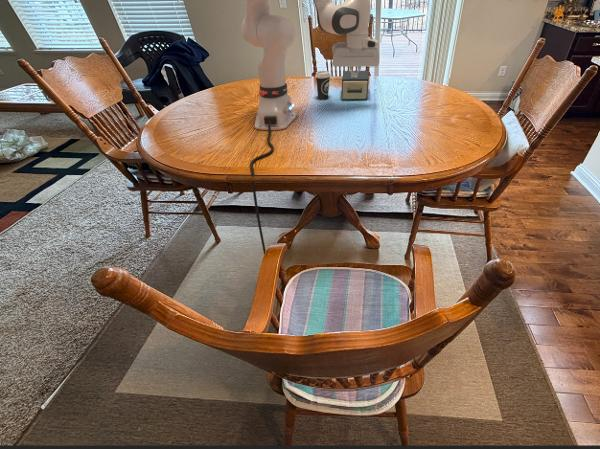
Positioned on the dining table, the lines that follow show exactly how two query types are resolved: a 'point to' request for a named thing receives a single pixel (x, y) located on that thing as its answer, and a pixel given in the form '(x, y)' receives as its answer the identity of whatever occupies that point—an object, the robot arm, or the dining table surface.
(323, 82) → the coffee cup
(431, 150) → the dining table surface
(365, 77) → the cabinet
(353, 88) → the drawer
